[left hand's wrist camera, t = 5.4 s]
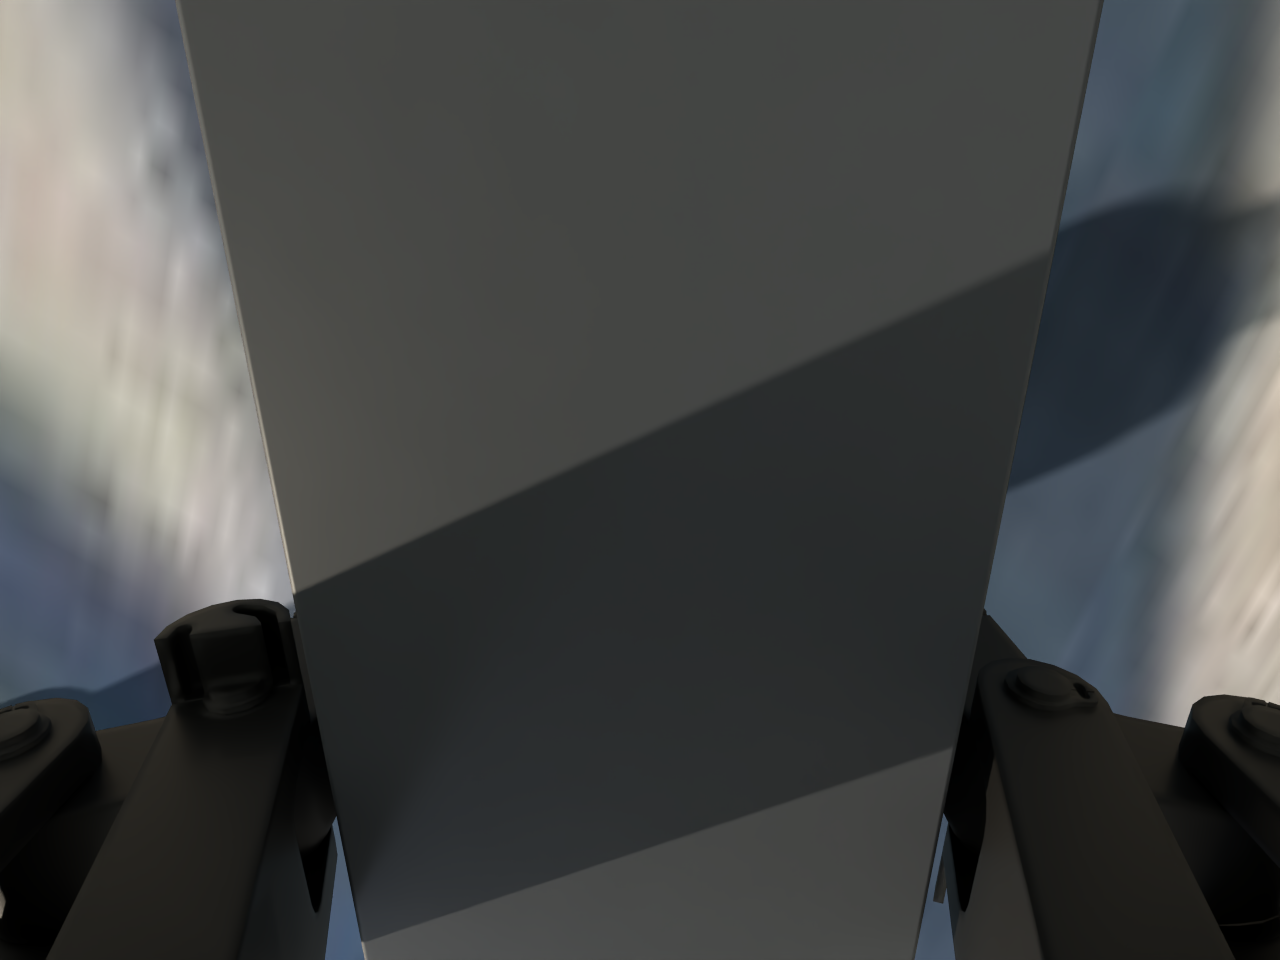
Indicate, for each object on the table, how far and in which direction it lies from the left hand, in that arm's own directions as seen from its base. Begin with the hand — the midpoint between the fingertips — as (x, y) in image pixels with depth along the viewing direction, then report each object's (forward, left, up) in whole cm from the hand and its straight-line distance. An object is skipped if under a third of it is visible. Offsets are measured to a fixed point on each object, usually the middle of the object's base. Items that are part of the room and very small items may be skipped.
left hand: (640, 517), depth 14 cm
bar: (+8, +2, -1) cm, 8 cm away
